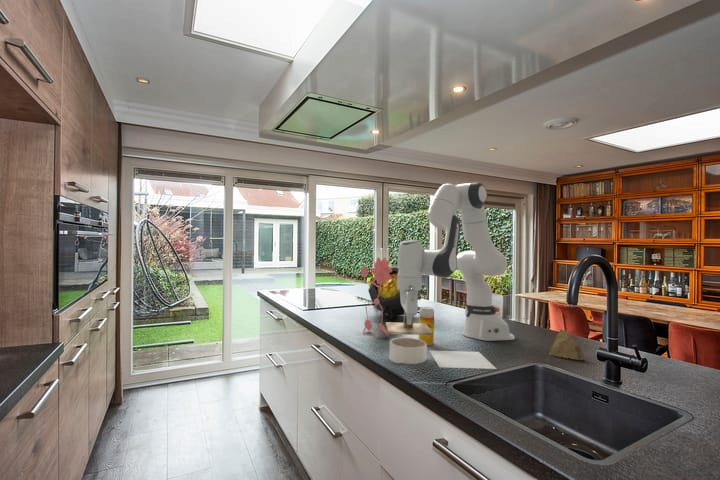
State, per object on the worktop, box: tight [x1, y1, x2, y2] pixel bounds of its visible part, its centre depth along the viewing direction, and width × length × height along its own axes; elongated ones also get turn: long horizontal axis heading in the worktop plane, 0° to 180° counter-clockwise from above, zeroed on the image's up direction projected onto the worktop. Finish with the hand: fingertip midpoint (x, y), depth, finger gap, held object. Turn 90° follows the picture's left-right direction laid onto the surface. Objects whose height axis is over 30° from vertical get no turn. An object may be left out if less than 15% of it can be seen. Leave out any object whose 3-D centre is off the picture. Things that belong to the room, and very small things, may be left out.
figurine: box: [360, 256, 397, 339], centre depth 169 cm, size 15×26×35 cm, turn 39°
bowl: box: [388, 337, 428, 365], centre depth 133 cm, size 13×13×6 cm
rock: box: [548, 328, 585, 361], centre depth 139 cm, size 11×9×10 cm
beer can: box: [418, 306, 435, 346], centre depth 153 cm, size 6×6×15 cm
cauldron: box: [368, 264, 422, 320], centre depth 209 cm, size 28×28×24 cm
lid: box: [385, 315, 433, 336], centre depth 133 cm, size 15×15×5 cm
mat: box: [429, 350, 497, 370], centre depth 133 cm, size 19×19×1 cm
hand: (408, 322), depth 133 cm, fingers closed on lid, 3 cm apart
